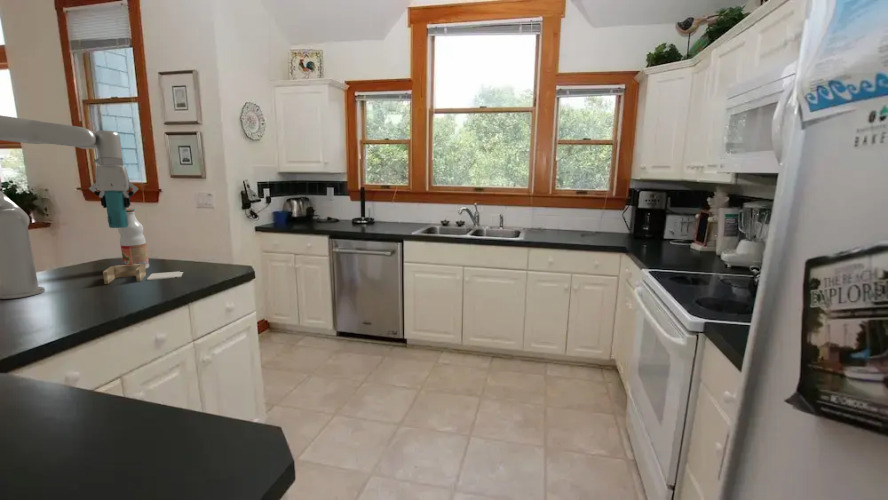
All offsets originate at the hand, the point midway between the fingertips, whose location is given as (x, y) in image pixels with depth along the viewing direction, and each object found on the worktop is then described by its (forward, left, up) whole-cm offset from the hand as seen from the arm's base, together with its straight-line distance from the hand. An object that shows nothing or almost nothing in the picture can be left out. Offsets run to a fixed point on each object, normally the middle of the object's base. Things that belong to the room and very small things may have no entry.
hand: (116, 207), depth 164 cm
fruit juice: (0, +20, -31) cm, 36 cm away
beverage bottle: (0, 0, -10) cm, 10 cm away
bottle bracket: (0, 0, -30) cm, 30 cm away
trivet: (+14, 0, -30) cm, 34 cm away
